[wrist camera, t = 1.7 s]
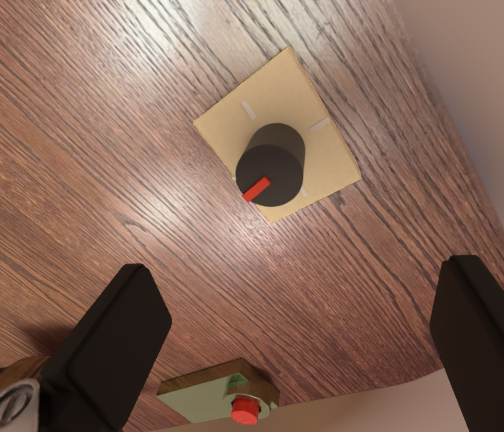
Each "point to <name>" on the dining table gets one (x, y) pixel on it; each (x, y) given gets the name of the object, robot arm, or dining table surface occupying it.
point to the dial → (272, 166)
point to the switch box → (218, 391)
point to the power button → (245, 411)
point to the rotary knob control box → (286, 112)
